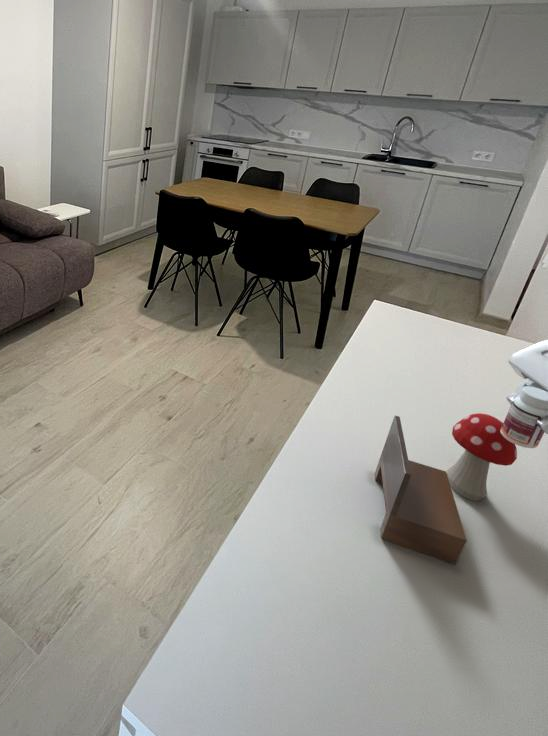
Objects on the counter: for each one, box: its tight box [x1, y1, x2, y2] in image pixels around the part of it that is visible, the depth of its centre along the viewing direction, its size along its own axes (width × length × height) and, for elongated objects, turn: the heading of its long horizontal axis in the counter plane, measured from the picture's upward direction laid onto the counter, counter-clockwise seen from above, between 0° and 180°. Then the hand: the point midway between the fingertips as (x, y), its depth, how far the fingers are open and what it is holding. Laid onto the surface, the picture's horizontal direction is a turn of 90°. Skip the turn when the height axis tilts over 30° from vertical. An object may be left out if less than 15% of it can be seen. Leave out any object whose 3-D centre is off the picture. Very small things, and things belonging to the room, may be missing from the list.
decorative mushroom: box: [446, 412, 518, 501], centre depth 87 cm, size 10×9×15 cm
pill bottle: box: [500, 386, 548, 449], centre depth 76 cm, size 5×5×8 cm
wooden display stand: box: [374, 415, 468, 566], centre depth 80 cm, size 10×16×13 cm, turn 155°
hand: (525, 415), depth 76 cm, fingers closed on pill bottle, 5 cm apart
